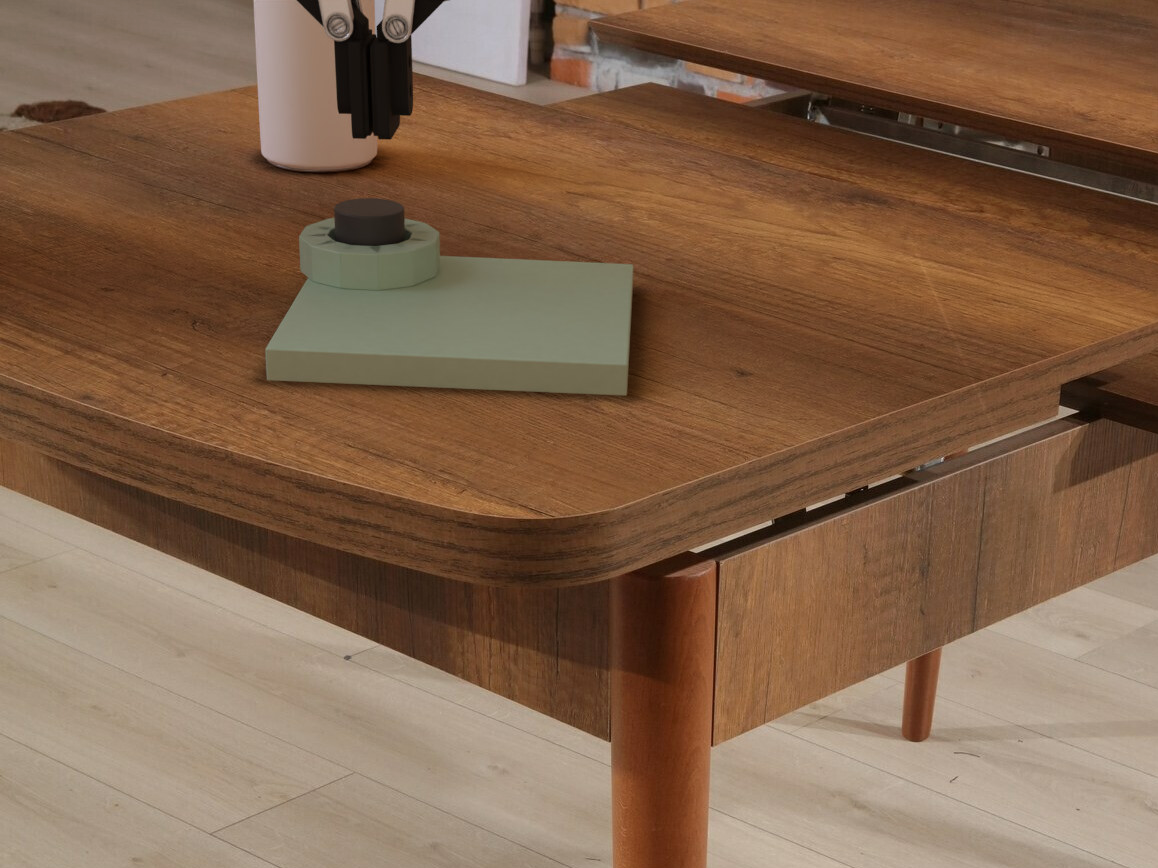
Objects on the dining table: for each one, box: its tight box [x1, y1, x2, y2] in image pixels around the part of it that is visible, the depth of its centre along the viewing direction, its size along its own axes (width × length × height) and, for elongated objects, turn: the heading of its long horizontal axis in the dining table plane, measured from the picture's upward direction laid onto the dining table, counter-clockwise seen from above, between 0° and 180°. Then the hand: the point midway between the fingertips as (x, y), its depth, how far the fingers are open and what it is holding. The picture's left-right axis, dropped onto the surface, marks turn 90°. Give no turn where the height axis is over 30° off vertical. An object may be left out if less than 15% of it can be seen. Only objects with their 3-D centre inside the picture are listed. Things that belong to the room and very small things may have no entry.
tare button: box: [333, 197, 406, 246], centre depth 77 cm, size 3×3×2 cm
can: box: [253, 0, 378, 174], centre depth 98 cm, size 6×6×12 cm
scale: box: [264, 217, 635, 397], centre depth 75 cm, size 14×14×3 cm
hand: (376, 131), depth 75 cm, fingers closed
